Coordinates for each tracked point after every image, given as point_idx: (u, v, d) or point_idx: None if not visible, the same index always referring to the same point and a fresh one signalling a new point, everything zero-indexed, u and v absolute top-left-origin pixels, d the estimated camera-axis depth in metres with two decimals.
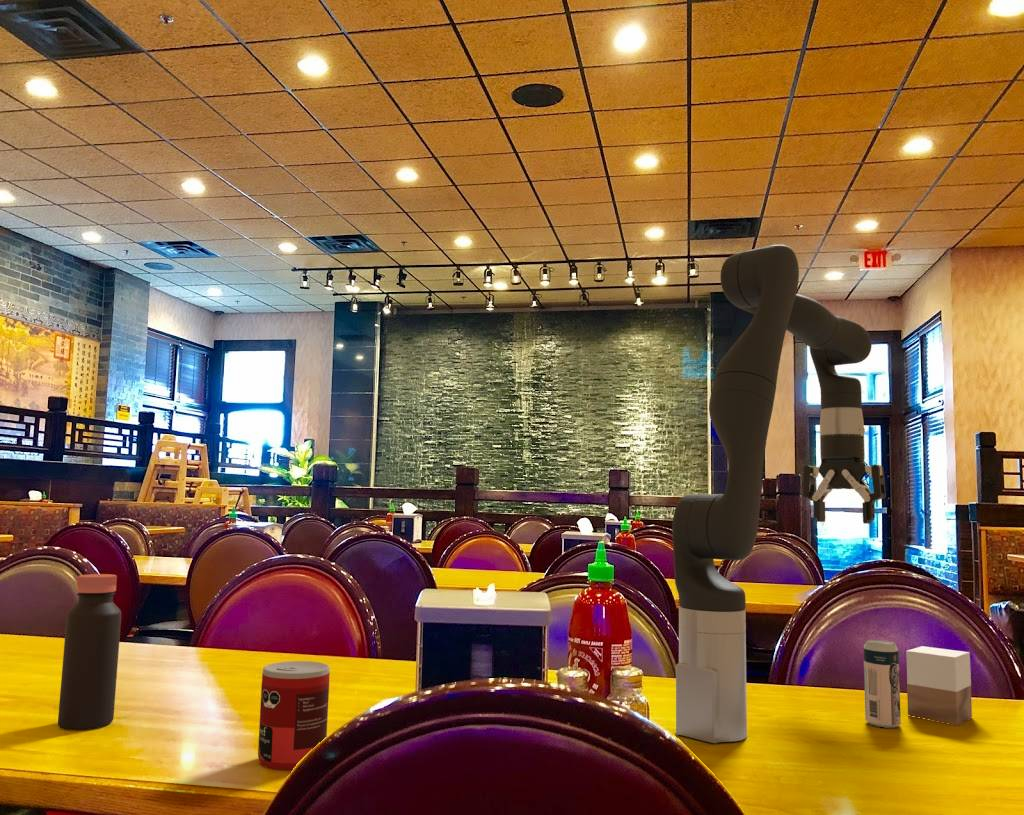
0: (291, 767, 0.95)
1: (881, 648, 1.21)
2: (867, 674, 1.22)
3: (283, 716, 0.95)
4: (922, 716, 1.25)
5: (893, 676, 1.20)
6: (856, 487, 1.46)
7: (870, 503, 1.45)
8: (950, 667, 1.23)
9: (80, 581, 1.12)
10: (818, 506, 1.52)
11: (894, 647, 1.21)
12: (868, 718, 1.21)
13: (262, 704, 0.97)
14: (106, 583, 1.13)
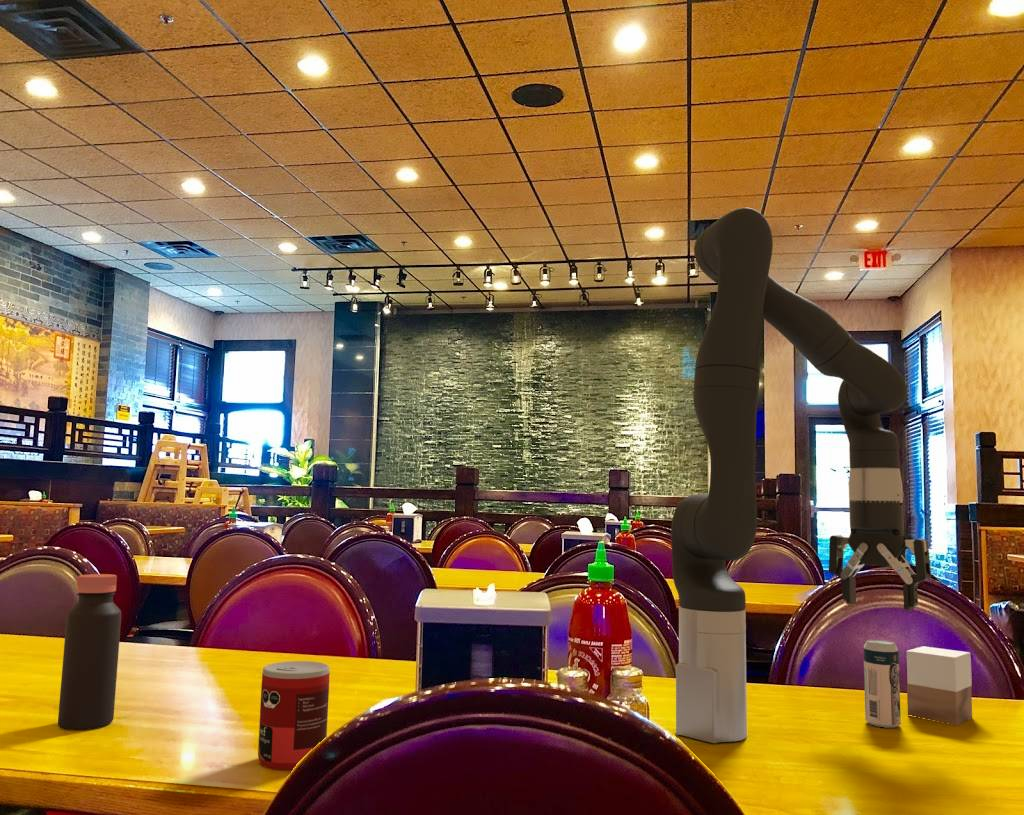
0: (291, 767, 0.95)
1: (881, 648, 1.21)
2: (867, 674, 1.22)
3: (283, 716, 0.95)
4: (922, 716, 1.25)
5: (893, 676, 1.20)
6: (895, 566, 1.21)
7: (912, 586, 1.20)
8: (950, 667, 1.23)
9: (80, 581, 1.12)
10: (848, 586, 1.26)
11: (894, 647, 1.21)
12: (868, 718, 1.21)
13: (262, 704, 0.97)
14: (106, 583, 1.13)
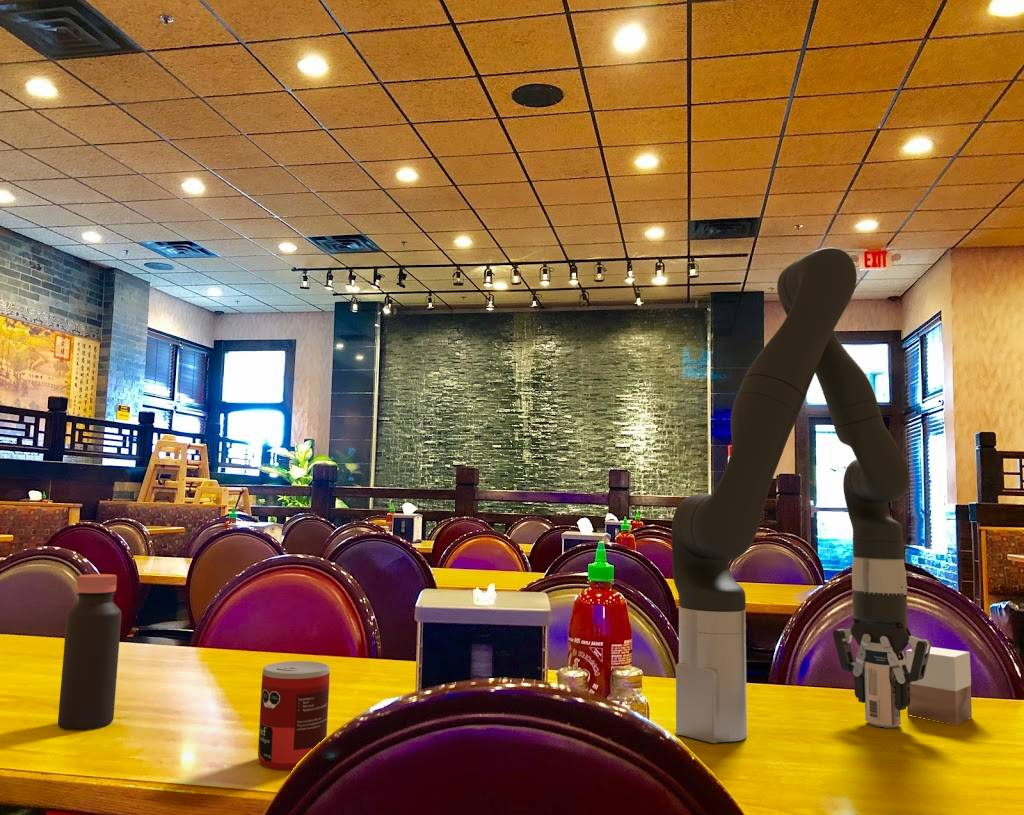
0: (291, 767, 0.95)
1: (881, 648, 1.21)
2: (867, 674, 1.22)
3: (283, 716, 0.95)
4: (921, 716, 1.26)
5: (893, 676, 1.20)
6: (892, 662, 1.20)
7: (905, 685, 1.19)
8: (949, 667, 1.24)
9: (80, 581, 1.12)
10: (860, 683, 1.23)
11: None
12: (868, 718, 1.21)
13: (262, 704, 0.97)
14: (106, 583, 1.13)
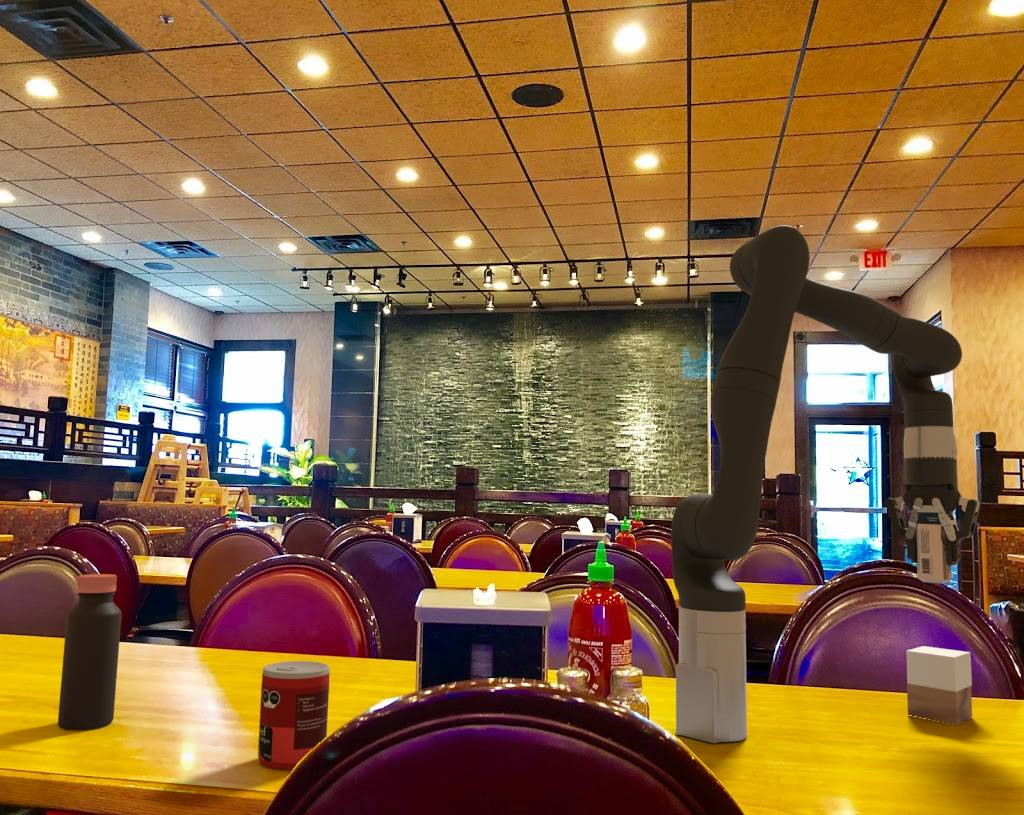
0: (291, 767, 0.95)
1: (933, 509, 1.29)
2: (919, 535, 1.30)
3: (283, 716, 0.95)
4: (922, 716, 1.26)
5: (945, 535, 1.28)
6: (943, 521, 1.28)
7: (956, 542, 1.27)
8: (950, 667, 1.23)
9: (80, 581, 1.12)
10: (913, 545, 1.31)
11: None
12: (921, 575, 1.29)
13: (262, 704, 0.97)
14: (106, 583, 1.13)
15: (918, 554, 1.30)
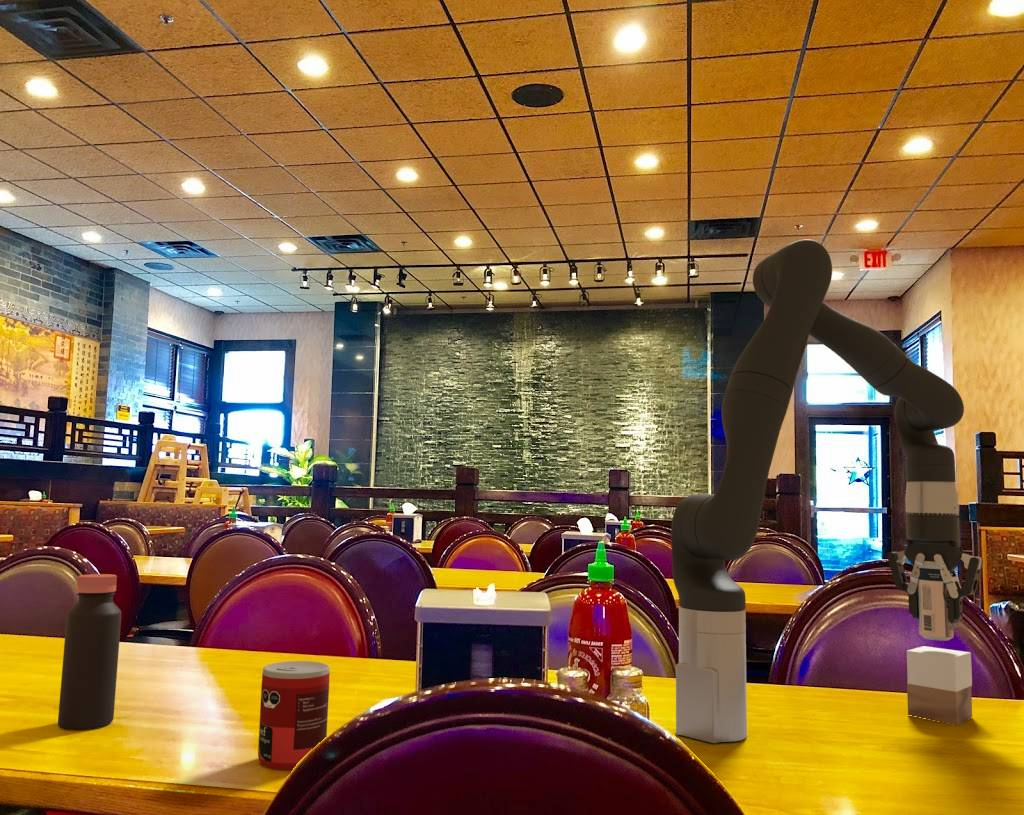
0: (291, 767, 0.95)
1: (935, 566, 1.28)
2: (921, 591, 1.29)
3: (283, 716, 0.95)
4: (922, 716, 1.26)
5: (947, 592, 1.27)
6: (945, 578, 1.27)
7: (958, 600, 1.26)
8: (950, 667, 1.23)
9: (80, 581, 1.12)
10: (915, 601, 1.30)
11: None
12: (922, 632, 1.28)
13: (262, 704, 0.97)
14: (106, 583, 1.13)
15: (920, 610, 1.29)
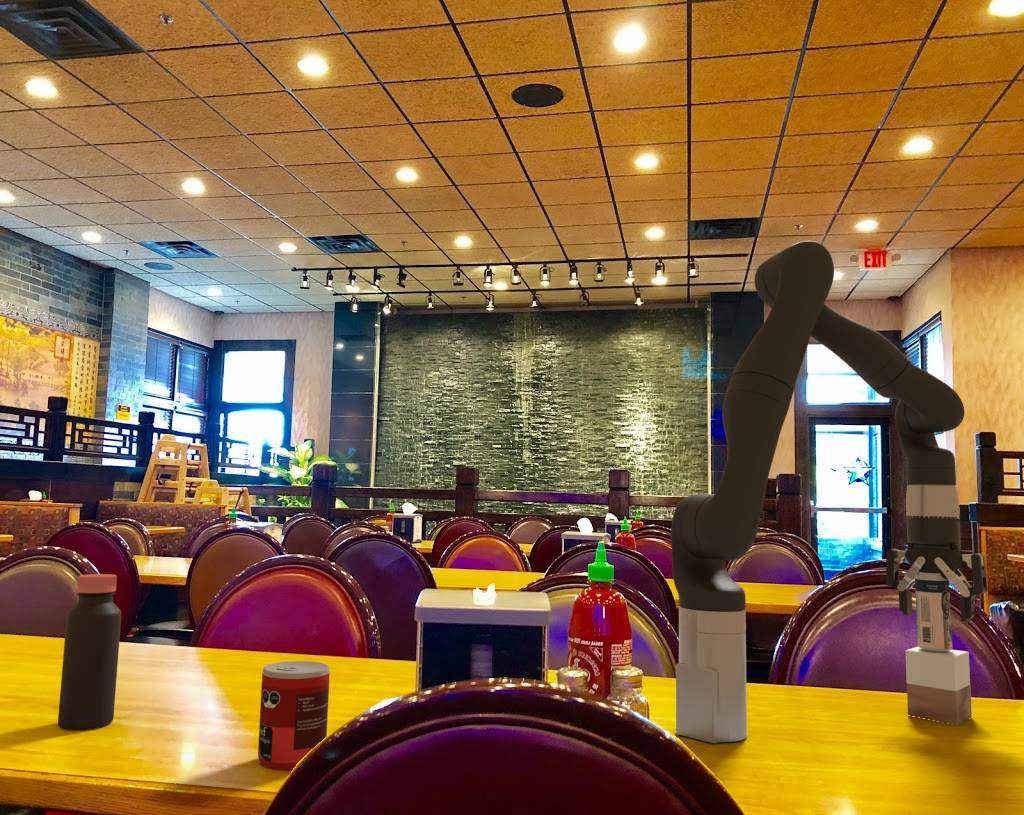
0: (291, 767, 0.95)
1: (933, 577, 1.28)
2: (920, 603, 1.29)
3: (283, 716, 0.95)
4: (922, 716, 1.25)
5: (945, 603, 1.27)
6: (952, 579, 1.26)
7: (969, 598, 1.25)
8: (949, 667, 1.23)
9: (80, 581, 1.12)
10: (905, 597, 1.31)
11: None
12: (921, 644, 1.28)
13: (262, 704, 0.97)
14: (106, 583, 1.13)
15: (918, 622, 1.29)
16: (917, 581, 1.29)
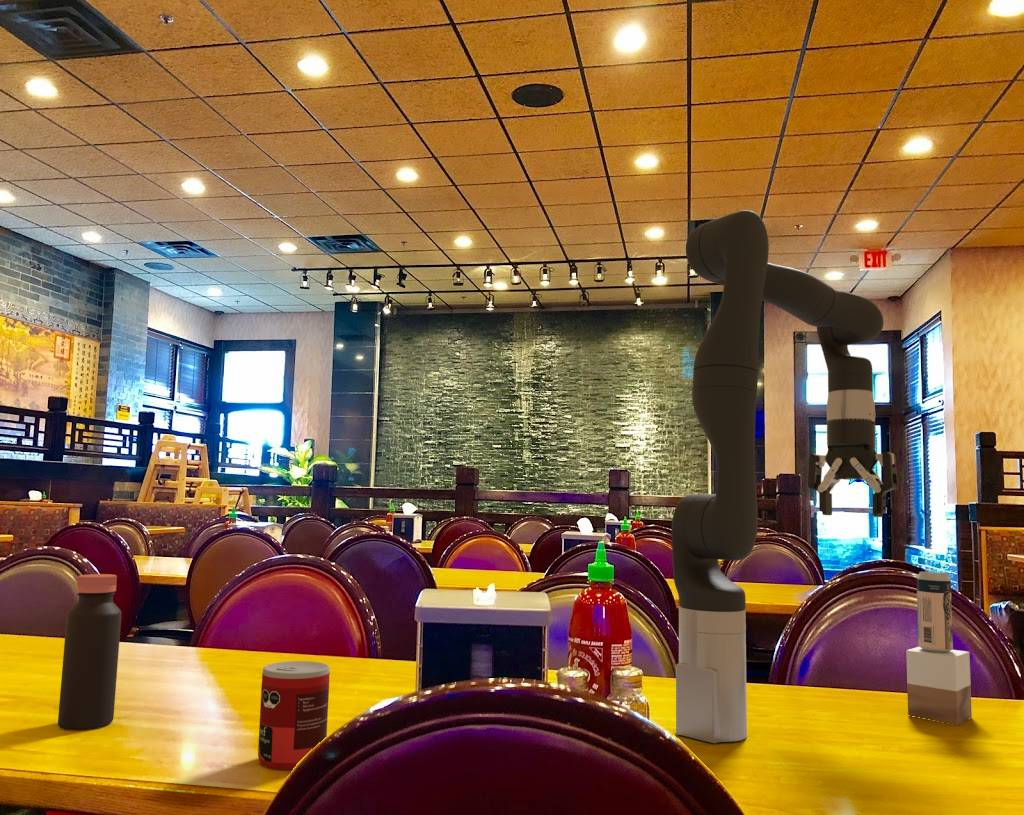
0: (291, 767, 0.95)
1: (935, 577, 1.28)
2: (921, 602, 1.28)
3: (283, 716, 0.95)
4: (922, 716, 1.25)
5: (947, 604, 1.27)
6: (865, 477, 1.34)
7: (881, 494, 1.33)
8: (950, 667, 1.23)
9: (80, 581, 1.12)
10: (824, 498, 1.39)
11: (947, 577, 1.28)
12: (922, 644, 1.28)
13: (262, 704, 0.97)
14: (106, 583, 1.13)
15: (919, 622, 1.29)
16: (919, 581, 1.29)
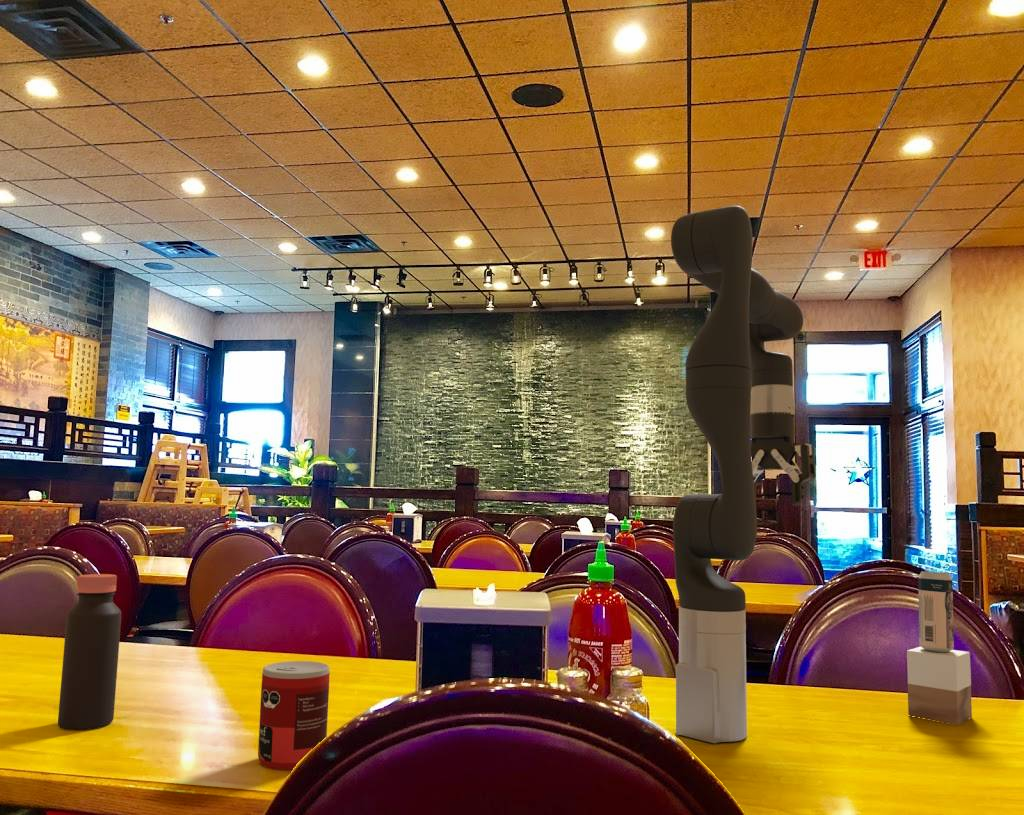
0: (291, 767, 0.95)
1: (937, 576, 1.28)
2: (923, 601, 1.29)
3: (283, 716, 0.95)
4: (923, 716, 1.25)
5: (949, 603, 1.27)
6: (785, 467, 1.41)
7: (799, 484, 1.40)
8: (951, 667, 1.23)
9: (80, 581, 1.12)
10: None
11: (949, 576, 1.28)
12: (923, 643, 1.28)
13: (262, 704, 0.97)
14: (106, 583, 1.13)
15: (921, 621, 1.29)
16: (921, 580, 1.30)
